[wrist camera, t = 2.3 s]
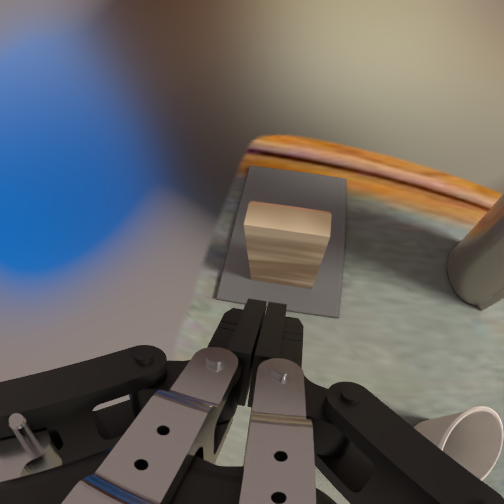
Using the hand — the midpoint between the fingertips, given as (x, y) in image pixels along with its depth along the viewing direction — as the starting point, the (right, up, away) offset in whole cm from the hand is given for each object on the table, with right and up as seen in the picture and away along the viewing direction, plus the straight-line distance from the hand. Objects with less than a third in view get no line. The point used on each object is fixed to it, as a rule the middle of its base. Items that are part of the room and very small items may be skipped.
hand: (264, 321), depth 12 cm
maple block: (+3, 0, +24) cm, 24 cm away
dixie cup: (+19, -19, +14) cm, 31 cm away
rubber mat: (+4, +5, +27) cm, 28 cm away
